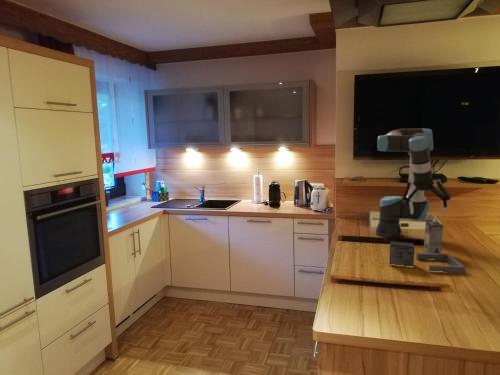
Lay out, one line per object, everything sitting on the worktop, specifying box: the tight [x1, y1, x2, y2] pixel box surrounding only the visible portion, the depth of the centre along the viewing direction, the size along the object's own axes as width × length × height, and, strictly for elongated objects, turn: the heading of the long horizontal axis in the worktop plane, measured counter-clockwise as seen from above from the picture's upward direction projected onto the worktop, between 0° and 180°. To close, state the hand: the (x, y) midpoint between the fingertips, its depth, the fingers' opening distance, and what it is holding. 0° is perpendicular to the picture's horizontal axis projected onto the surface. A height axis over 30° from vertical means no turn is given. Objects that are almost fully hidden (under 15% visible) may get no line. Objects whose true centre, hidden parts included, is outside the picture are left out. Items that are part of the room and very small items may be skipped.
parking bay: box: [415, 252, 466, 275], centre depth 178 cm, size 18×15×3 cm
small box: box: [389, 241, 415, 266], centre depth 179 cm, size 11×6×10 cm, turn 71°
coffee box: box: [423, 221, 444, 254], centre depth 194 cm, size 9×6×16 cm
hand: (427, 213), depth 174 cm, fingers open, 13 cm apart
